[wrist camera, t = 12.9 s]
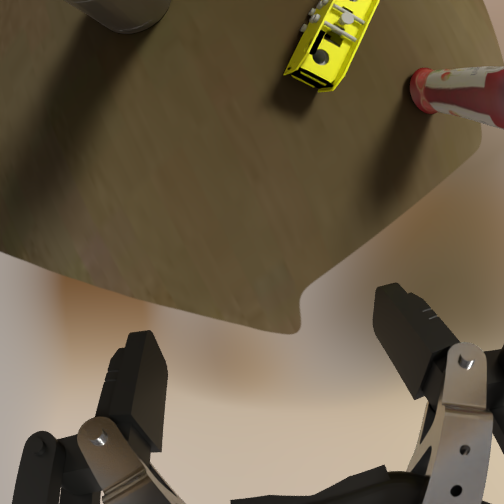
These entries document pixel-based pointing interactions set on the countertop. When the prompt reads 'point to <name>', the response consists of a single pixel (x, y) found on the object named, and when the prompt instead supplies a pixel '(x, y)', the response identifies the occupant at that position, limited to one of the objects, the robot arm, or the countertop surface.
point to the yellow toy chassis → (330, 42)
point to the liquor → (461, 93)
